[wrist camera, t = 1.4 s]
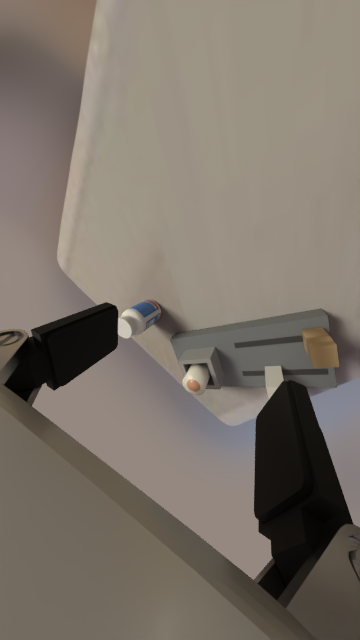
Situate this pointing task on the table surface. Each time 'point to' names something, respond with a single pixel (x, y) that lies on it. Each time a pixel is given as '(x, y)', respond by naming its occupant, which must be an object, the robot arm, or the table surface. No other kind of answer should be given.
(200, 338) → the panel
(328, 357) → the lever oak
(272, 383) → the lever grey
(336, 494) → the robot arm
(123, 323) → the pill bottle
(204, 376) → the button ivory
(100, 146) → the table surface
